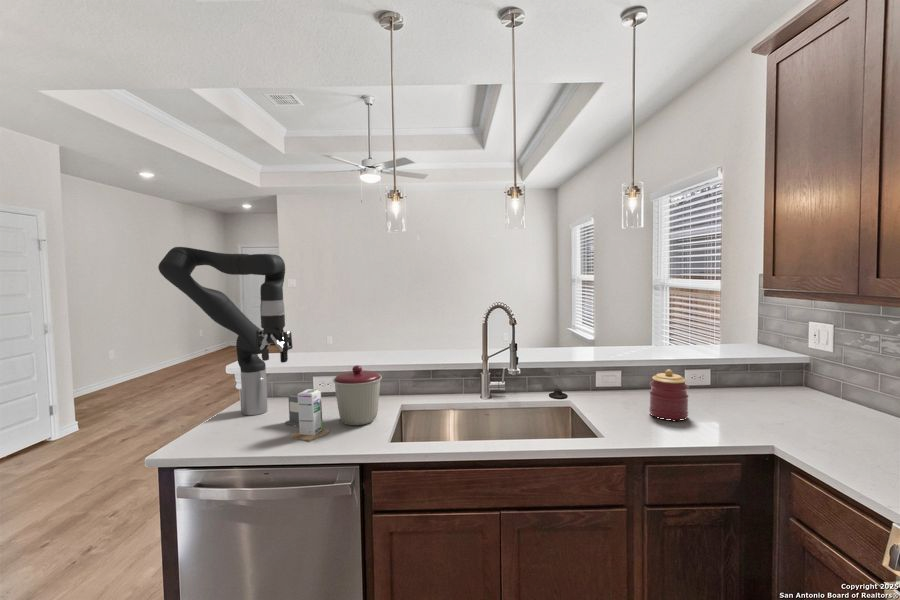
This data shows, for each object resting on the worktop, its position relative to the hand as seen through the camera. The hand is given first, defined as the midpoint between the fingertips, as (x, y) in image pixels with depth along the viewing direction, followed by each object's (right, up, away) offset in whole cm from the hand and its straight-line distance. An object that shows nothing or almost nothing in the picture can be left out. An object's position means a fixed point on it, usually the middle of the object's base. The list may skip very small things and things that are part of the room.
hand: (274, 361), depth 147 cm
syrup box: (+11, -25, +3) cm, 28 cm away
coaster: (+11, -26, +3) cm, 28 cm away
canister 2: (+141, -23, +15) cm, 144 cm away
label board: (+5, -25, +13) cm, 29 cm away
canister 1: (+25, -25, +16) cm, 39 cm away
